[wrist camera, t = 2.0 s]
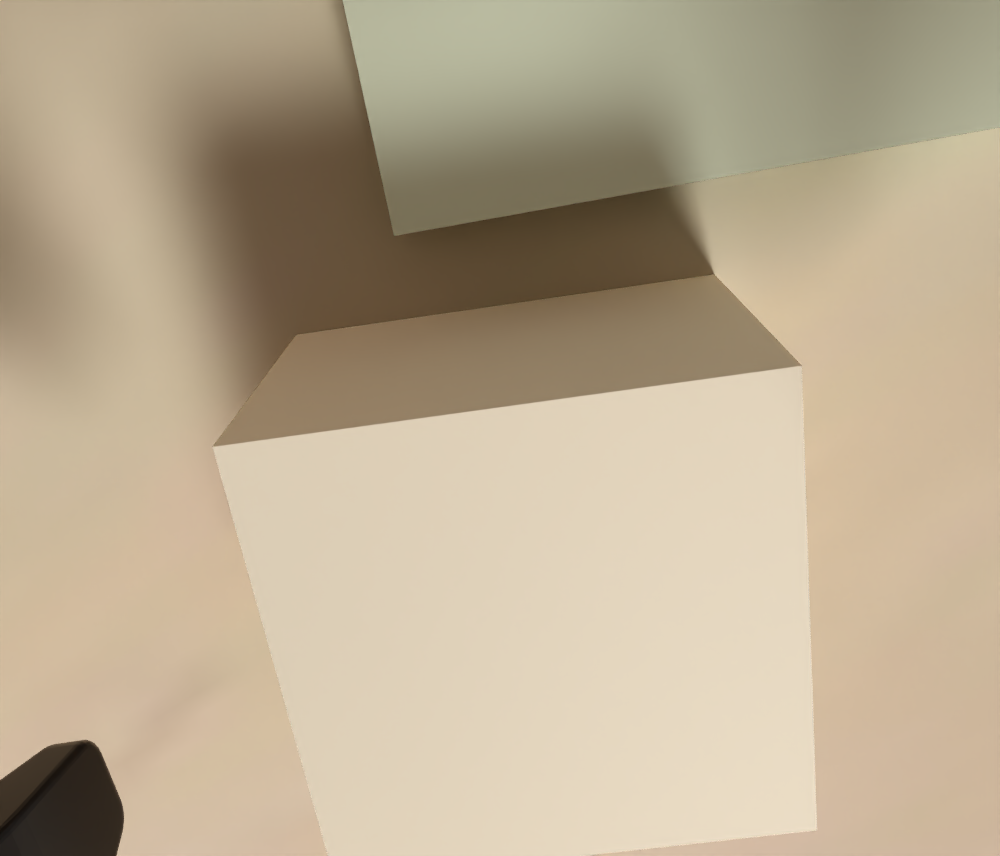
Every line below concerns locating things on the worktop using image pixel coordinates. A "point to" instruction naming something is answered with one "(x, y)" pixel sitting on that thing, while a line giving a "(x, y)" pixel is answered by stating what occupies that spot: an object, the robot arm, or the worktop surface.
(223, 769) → the worktop surface
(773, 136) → the baseplate
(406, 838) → the brick cream
